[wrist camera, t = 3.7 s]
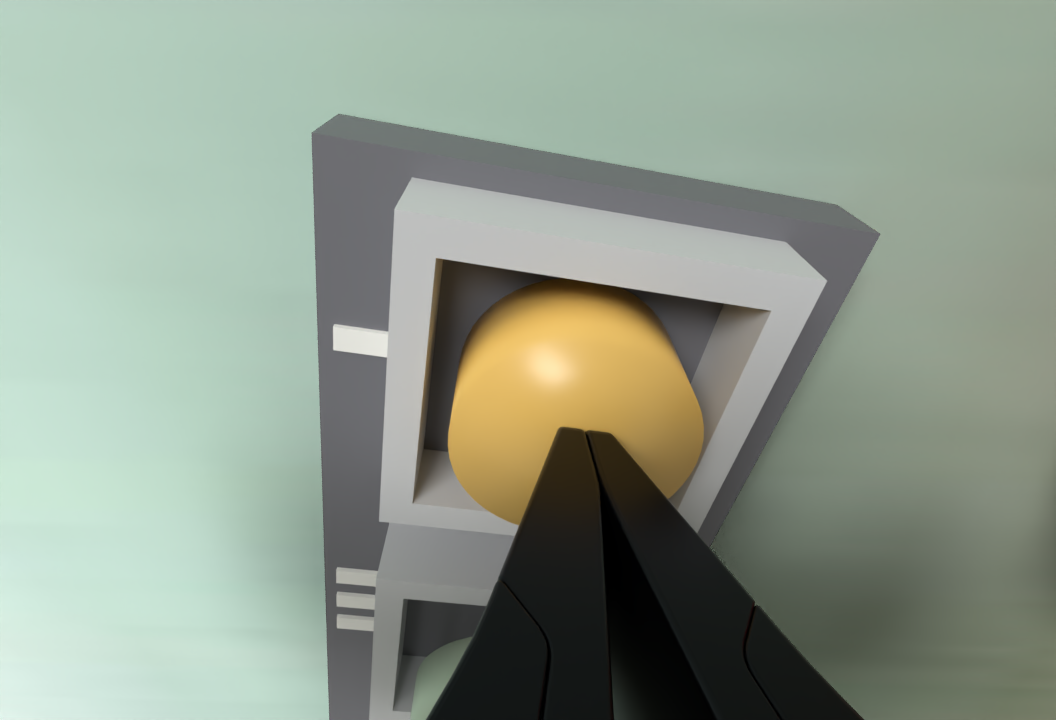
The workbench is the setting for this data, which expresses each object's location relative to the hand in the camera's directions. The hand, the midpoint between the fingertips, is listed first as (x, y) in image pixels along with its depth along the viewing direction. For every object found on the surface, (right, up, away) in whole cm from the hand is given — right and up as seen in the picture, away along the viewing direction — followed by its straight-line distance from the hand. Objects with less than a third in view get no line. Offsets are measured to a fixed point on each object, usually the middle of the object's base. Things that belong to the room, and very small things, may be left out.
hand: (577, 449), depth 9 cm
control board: (-1, -4, +7) cm, 9 cm away
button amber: (0, +1, +2) cm, 2 cm away
